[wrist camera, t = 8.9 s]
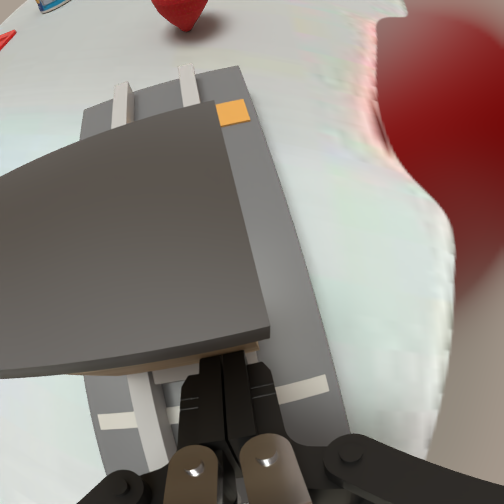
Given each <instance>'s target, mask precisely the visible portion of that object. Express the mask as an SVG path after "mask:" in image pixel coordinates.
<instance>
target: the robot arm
mask: <svg viewBox="0 0 504 504" xmlns="http://www.w3.org/2000/svg"><path fill="white" fill-rule="evenodd" d="M180 400H181V402H180V411H179V426H178V443H177V450H176V453H175V454H174V455H173V456H172V458H171V459H170V461H169V463H168V464H167V465H165V466H164V467H162V468H160V469H157V470H155V471H152V472H149V473H146V474H143V475H140V476H139V475H137V474H136V473H135V472H133V471H130V470H117V471H114V472H112V473H110V474H109V475H107V476H106V477H105V478H104V479H103V480H102V481H101V482H100V483H99V484H98V485H97V486H96V487H94V488H93V489H92V490H91V491H90V492H89V493H88V494H87V495H86V496H85V497H84V498H82V499H81V500H80V501H79V502H78V503H77V504H241V496H240V494H239V492H238V491H237V488H236V478H244V483H245V487H246V492H247V496H248V501H249V504H504V486H502V485H499V484H495V483H491V482H488V481H484V480H481V479H478V478H474V477H471V476H468V475H465V474H462V473H459V472H455V471H453V470H450V469H447V468H444V467H441V466H439V465H436V464H433V463H430V462H428V461H425V460H422V459H420V458H417V457H414V456H412V455H409V454H407V453H404V452H402V451H399V450H397V449H395V448H392V447H390V446H387V445H385V444H383V443H380V442H378V441H376V440H373V439H371V438H369V437H367V436H364V435H360V434H347V435H343V436H340V437H338V438H336V439H335V440H333V441H332V442H331V443H330V444H329V445H328V446H305V445H301V444H299V443H296V442H295V441H293V440H292V439H291V438H290V437H289V436H288V435H287V433H286V431H285V427H284V423H283V419H282V415H281V411H280V407H279V402H278V398H277V394H276V390H275V386H274V381H273V377H272V373H271V370H270V369H269V368H268V367H267V366H266V365H265V364H264V363H263V362H257V363H253V364H248V362H247V358H246V355H245V352H244V350H241V351H237V352H232V353H227V354H223V357H222V355H217V356H212V357H206V358H201V359H200V360H199V374H195V375H189V376H187V378H186V380H185V382H184V383H183V385H182V387H181V397H180Z"/></svg>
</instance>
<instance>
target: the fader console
mask: <svg viewBox="0 0 504 504" xmlns="http://www.w3.org/2000/svg"><path fill="white" fill-rule="evenodd" d="M178 71H179V79H176V80H172V81H169V82H165V83H161V84H158V85H154V86H151V87H148V88H145V89H141V90H138V91H135V92H132V89H131V87H130V85H129V83H128V81H127V82H124V83H121V84H118V85H115V88H114V98H113V99H111V100H109V101H106V102H103V103H100V104H98V105H95V106H93V107H90V108H87V109H85V110H84V113H83V119H82V126H81V133H80V141H81V140H83V139H86V138H88V137H91V136H94V135H96V134H99V133H102V132H105V131H108V130H110V129H113V128H116V127H119V126H122V125H125V124H128V123H131V122H134V121H138V120H141V119H144V118H147V117H151V116H154V115H157V114H161V113H164V112H168V111H172V110H175V109H179V108H183V107H187V106H191V105H195V104H199V103H203V102H207V101H212V100H214V101H215V105H216V109H217V113H218V117H219V121H220V125H221V129H222V133H223V137H224V141H225V145H226V149H227V153H228V157H229V161H230V165H231V169H232V173H233V177H234V181H235V185H236V189H237V194H238V198H239V202H240V206H241V210H242V214H243V218H244V222H245V226H246V230H247V234H248V238H249V242H250V246H251V250H252V254H253V258H254V262H255V266H256V270H257V274H258V278H259V282H260V286H261V290H262V294H263V298H264V302H265V306H266V310H267V314H268V318H269V322H270V338H269V339H265V340H261V341H258V345H259V349H260V350H257V351H253V352H249V353H245V355H246V358H247V362H248V364H253V363H257V362H263V363H264V364H265V365H266V366H267V367H268V368H269V369H270V370H271V373H272V377H273V381H274V386H275V390H276V394H277V398H278V402H279V407H280V411H281V415H282V419H283V423H284V427H285V431H286V433H287V435H288V436H289V437H290V438H291V439H292V440H293V441H295V442H296V443H299V444H301V445H305V446H328V445H329V444H330V443H331V442H332V441H333V440H335V439H336V438H338V437H340V436H343V435H347V434H350V429H349V425H348V421H347V416H346V412H345V408H344V404H343V400H342V396H341V392H340V388H339V384H338V380H337V376H336V372H335V368H334V364H333V360H332V356H331V353H330V349H329V345H328V341H327V338H326V334H325V330H324V327H323V323H322V319H321V316H320V312H319V309H318V305H317V302H316V298H315V294H314V291H313V288H312V284H311V281H310V277H309V274H308V270H307V267H306V264H305V260H304V257H303V254H302V250H301V247H300V244H299V241H298V237H297V234H296V231H295V228H294V224H293V221H292V218H291V215H290V212H289V209H288V205H287V202H286V199H285V196H284V193H283V190H282V187H281V184H280V181H279V178H278V175H277V172H276V169H275V166H274V163H273V160H272V157H271V154H270V151H269V148H268V145H267V142H266V140H265V137H264V134H263V131H262V128H261V125H260V122H259V120H258V117H257V114H256V111H255V108H254V106H253V103H252V100H251V97H250V95H249V92H248V89H247V86H246V84H245V81H244V78H243V76H242V73H241V70H240V68H239V66H234V67H228V68H223V69H218V70H214V71H209V72H205V73H200V74H196V75H195V73H194V68H193V64H192V63H189V64H185V65H181V66H178ZM83 376H84V382H85V388H86V393H87V398H88V404H89V408H90V413H91V418H92V422H93V427H94V431H95V435H96V439H97V443H98V447H99V451H100V455H101V458H102V462H103V465H104V469H105V472H106V475H109V474H110V473H112V472H114V471H117V470H130V471H133V472H135V473H136V474H137V475H139V476H140V475H143V474H146V473H149V472H152V471H155V470H157V469H160V468H162V467H164V466H165V465H167V464H168V463H169V461H170V459H171V458H172V456H173V455H174V454H175V453H176V450H177V443H178V426H179V411H180V402H181V400H180V397H181V387H182V385H183V383H184V382H185V380H183V381H177V382H170V383H162V384H155V383H154V378H153V373H152V371H149V372H143V373H136V374H129V375H122V376H92V375H83ZM236 488H237V491H238V492H239V494H240V496H241V504H243V503H249V501H248V496H247V492H246V487H245V483H244V478H236Z"/></svg>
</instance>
